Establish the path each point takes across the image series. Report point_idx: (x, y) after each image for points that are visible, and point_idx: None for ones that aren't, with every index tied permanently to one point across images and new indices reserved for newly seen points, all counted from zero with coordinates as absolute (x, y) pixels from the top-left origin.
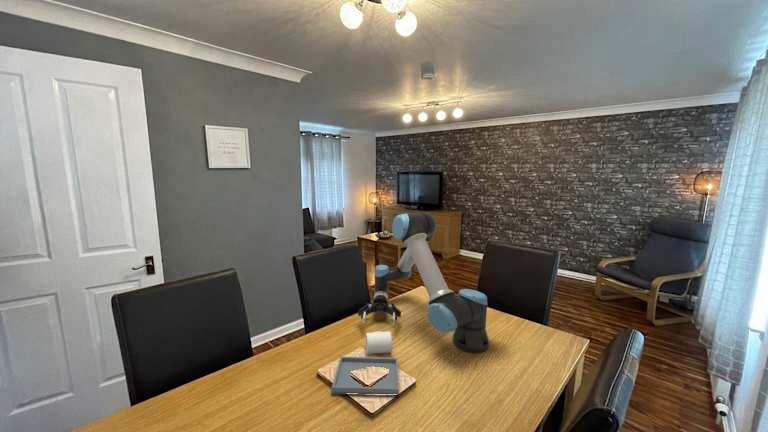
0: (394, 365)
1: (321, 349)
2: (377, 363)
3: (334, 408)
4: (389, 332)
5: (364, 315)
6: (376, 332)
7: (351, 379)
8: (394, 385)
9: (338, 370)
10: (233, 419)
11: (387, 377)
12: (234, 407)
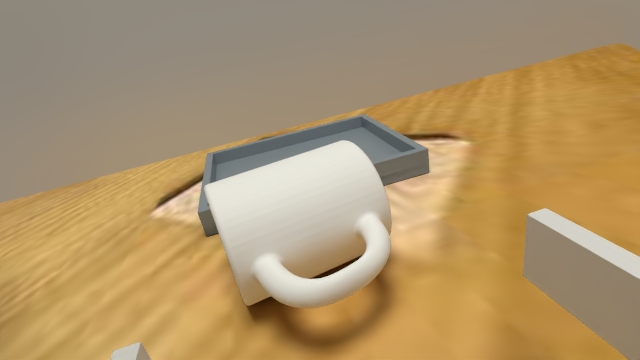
0: None
1: (586, 178)
2: None
3: None
4: (212, 189)
5: (610, 254)
6: (301, 168)
7: None
8: (219, 171)
9: (385, 130)
10: (480, 81)
11: None
12: (507, 81)
